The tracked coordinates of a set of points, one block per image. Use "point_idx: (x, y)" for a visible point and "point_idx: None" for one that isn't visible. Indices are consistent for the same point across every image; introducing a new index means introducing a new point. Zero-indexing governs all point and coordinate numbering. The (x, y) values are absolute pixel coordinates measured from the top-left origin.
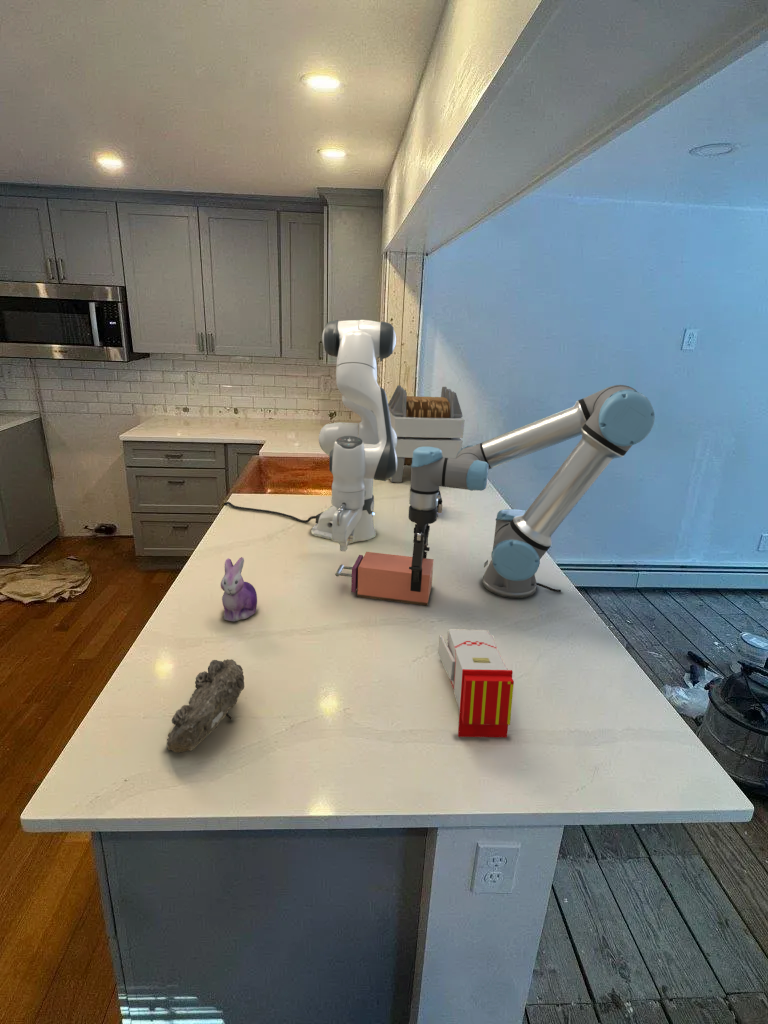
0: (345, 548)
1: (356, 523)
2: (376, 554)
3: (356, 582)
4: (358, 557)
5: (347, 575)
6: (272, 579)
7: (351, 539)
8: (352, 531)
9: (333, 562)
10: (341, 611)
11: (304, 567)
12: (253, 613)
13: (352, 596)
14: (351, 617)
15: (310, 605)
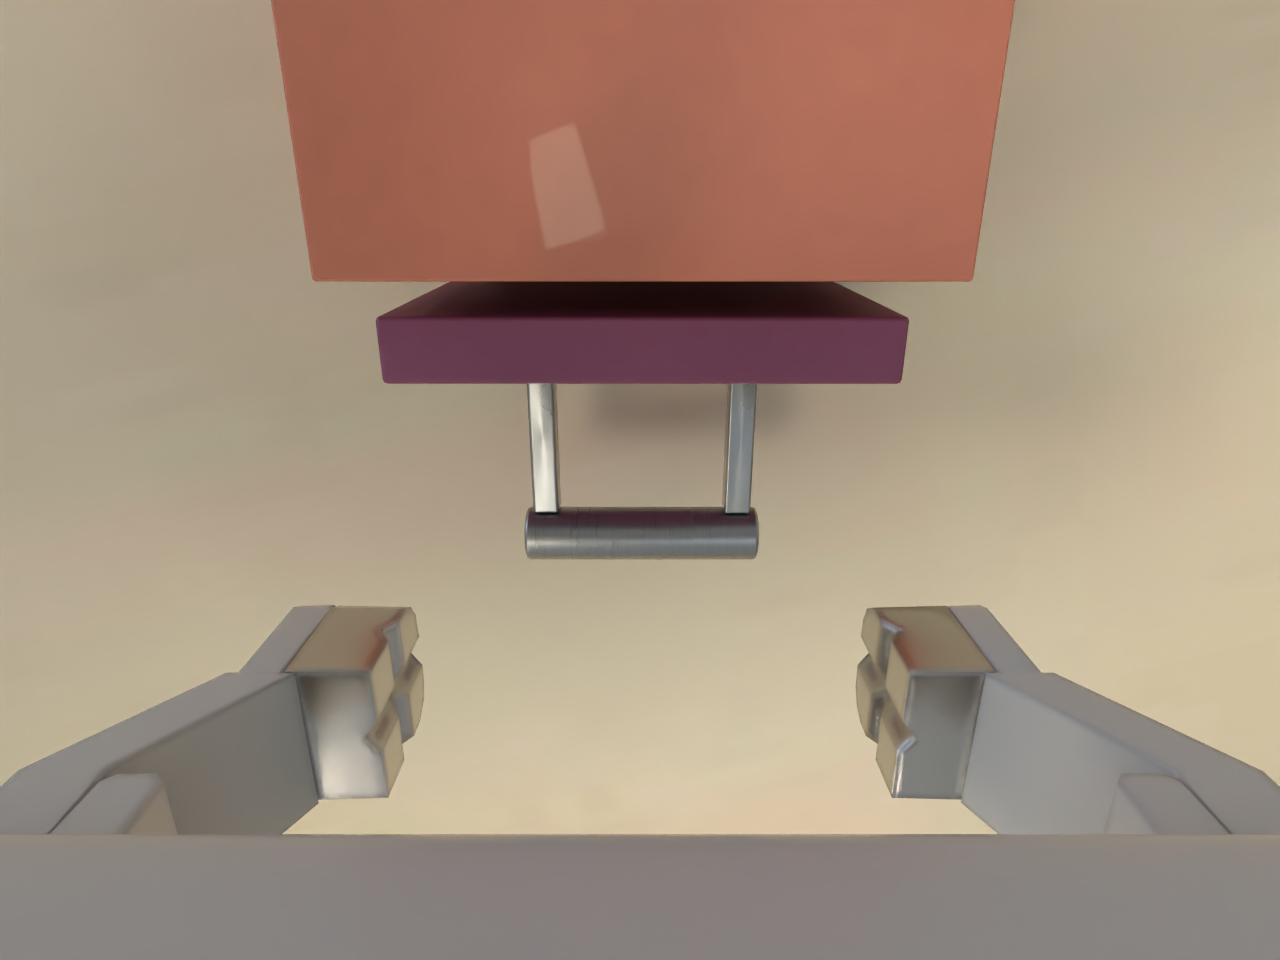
0: (1005, 648)
1: (106, 900)
2: (361, 52)
3: (797, 285)
4: (491, 372)
5: (752, 419)
6: None
7: (403, 638)
8: (228, 746)
9: (196, 629)
10: (1139, 327)
11: (399, 809)
12: None
13: None
14: (1254, 205)
15: (1045, 599)
